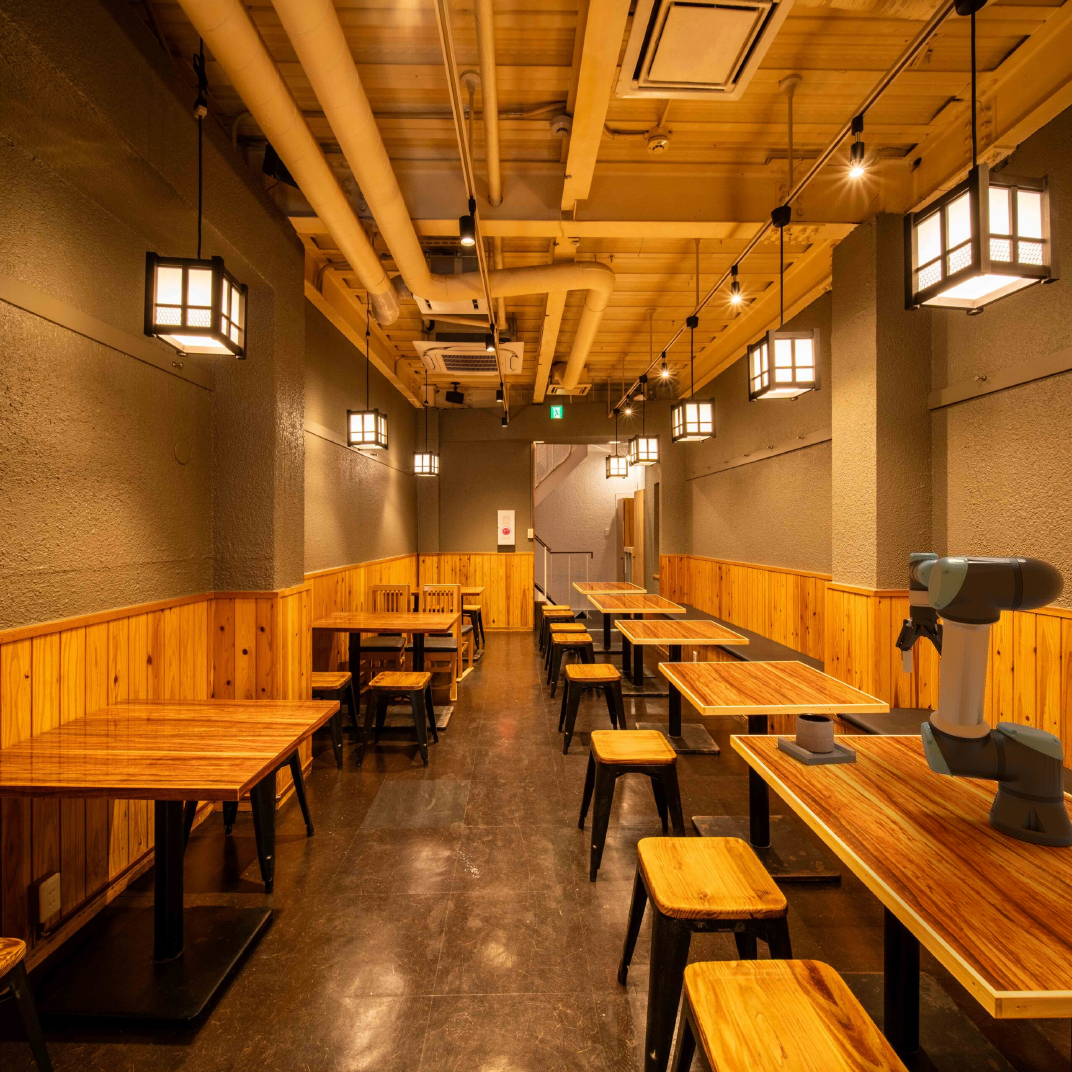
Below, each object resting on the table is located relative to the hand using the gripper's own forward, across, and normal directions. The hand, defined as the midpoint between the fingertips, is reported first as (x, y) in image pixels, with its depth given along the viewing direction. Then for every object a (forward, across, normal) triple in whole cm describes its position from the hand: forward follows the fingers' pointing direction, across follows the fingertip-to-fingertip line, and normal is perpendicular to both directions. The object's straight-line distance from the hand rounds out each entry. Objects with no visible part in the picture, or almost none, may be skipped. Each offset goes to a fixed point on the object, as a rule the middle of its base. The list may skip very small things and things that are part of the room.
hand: (925, 677), depth 175 cm
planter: (+25, +16, +25) cm, 39 cm away
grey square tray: (+27, +16, +25) cm, 40 cm away
